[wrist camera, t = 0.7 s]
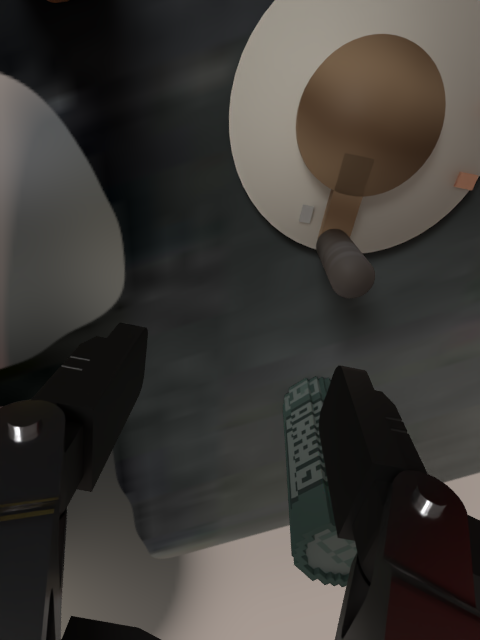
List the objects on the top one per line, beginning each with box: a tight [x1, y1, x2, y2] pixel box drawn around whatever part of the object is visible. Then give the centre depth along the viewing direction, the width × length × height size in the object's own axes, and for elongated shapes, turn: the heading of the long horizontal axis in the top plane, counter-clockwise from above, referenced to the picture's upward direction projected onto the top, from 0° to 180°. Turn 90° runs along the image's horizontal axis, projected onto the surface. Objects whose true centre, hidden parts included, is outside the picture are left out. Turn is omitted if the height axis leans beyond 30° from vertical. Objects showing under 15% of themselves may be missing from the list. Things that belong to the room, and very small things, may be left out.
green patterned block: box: [283, 376, 357, 587], centre depth 31 cm, size 6×6×15 cm
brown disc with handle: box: [296, 34, 446, 298], centre depth 23 cm, size 14×9×8 cm, turn 169°
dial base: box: [229, 0, 480, 253], centre depth 26 cm, size 18×18×2 cm
